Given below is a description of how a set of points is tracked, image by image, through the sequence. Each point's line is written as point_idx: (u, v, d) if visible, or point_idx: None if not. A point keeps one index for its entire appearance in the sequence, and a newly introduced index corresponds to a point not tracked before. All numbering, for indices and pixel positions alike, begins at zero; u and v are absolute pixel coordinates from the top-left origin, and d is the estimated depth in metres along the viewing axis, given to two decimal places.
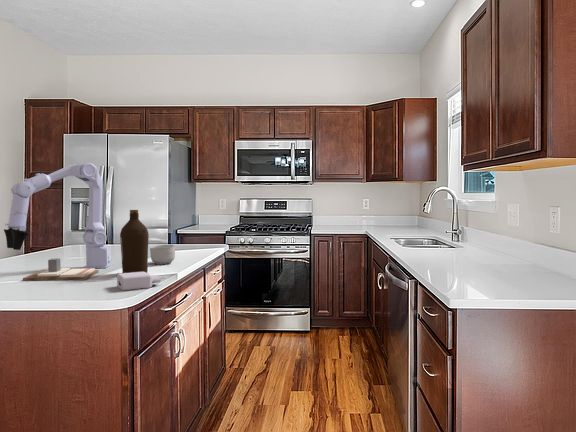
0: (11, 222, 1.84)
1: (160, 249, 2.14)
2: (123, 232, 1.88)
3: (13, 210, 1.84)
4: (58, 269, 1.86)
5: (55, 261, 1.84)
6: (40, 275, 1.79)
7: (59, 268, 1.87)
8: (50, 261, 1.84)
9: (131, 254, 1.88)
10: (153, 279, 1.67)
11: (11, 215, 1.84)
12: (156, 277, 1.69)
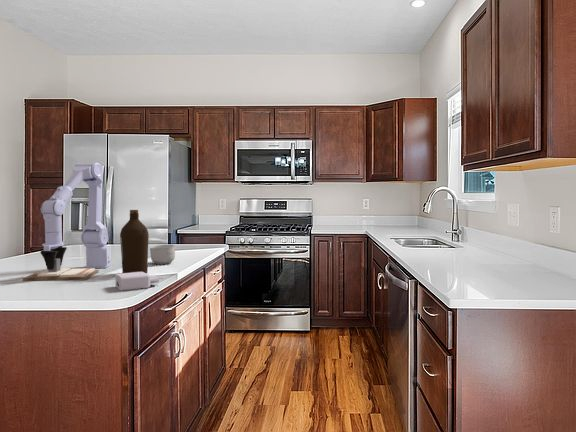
0: (45, 242, 1.84)
1: (160, 249, 2.14)
2: (123, 232, 1.88)
3: (51, 230, 1.83)
4: (58, 269, 1.86)
5: (55, 261, 1.84)
6: (40, 275, 1.79)
7: (59, 268, 1.87)
8: None
9: (131, 254, 1.88)
10: (151, 279, 1.67)
11: (45, 235, 1.84)
12: (154, 277, 1.68)
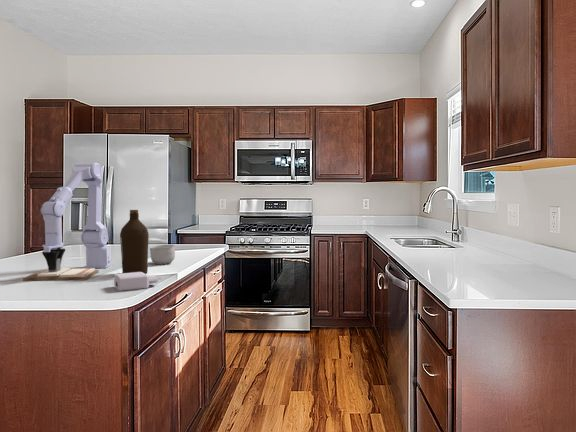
0: (45, 243, 1.84)
1: (160, 249, 2.14)
2: (123, 232, 1.88)
3: (51, 231, 1.83)
4: (58, 269, 1.86)
5: None
6: (40, 275, 1.79)
7: (59, 268, 1.87)
8: None
9: (131, 254, 1.88)
10: (150, 279, 1.67)
11: (45, 236, 1.84)
12: (153, 277, 1.68)
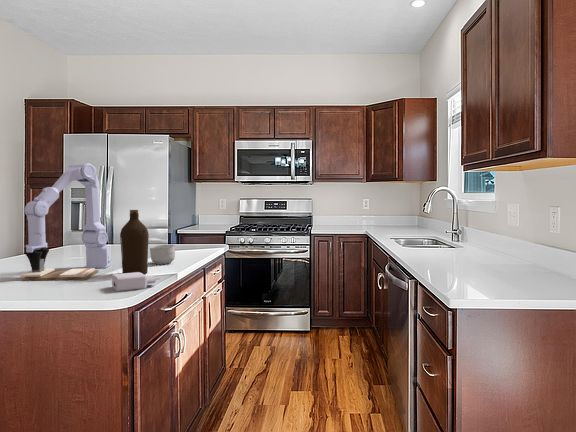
0: None
1: (160, 249, 2.14)
2: (123, 232, 1.88)
3: (33, 231, 1.82)
4: (42, 269, 1.86)
5: None
6: (23, 275, 1.79)
7: (43, 268, 1.87)
8: None
9: (131, 254, 1.88)
10: (148, 280, 1.66)
11: (28, 236, 1.84)
12: (151, 278, 1.68)
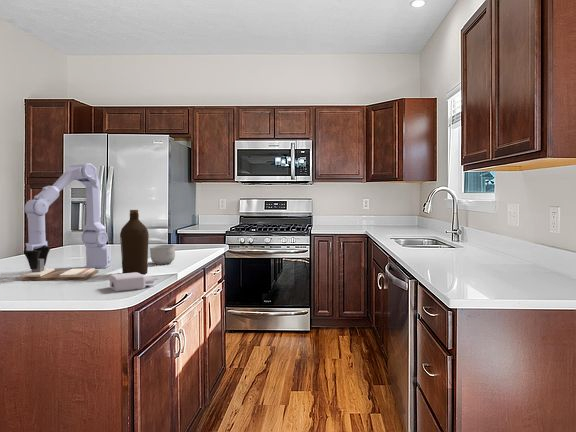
0: None
1: (160, 249, 2.14)
2: (123, 232, 1.88)
3: (33, 230, 1.82)
4: (42, 269, 1.86)
5: (38, 261, 1.84)
6: (23, 275, 1.79)
7: (43, 268, 1.87)
8: None
9: (131, 254, 1.88)
10: (146, 280, 1.66)
11: None
12: (149, 278, 1.67)
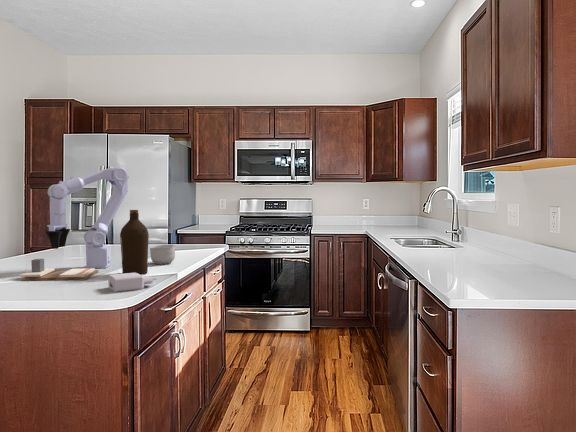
0: (50, 223, 1.97)
1: (160, 249, 2.14)
2: (123, 232, 1.88)
3: (52, 212, 1.96)
4: (42, 269, 1.86)
5: (38, 261, 1.84)
6: (23, 275, 1.79)
7: (43, 268, 1.87)
8: (33, 261, 1.83)
9: (131, 254, 1.88)
10: (145, 280, 1.66)
11: (50, 217, 1.98)
12: (148, 278, 1.67)
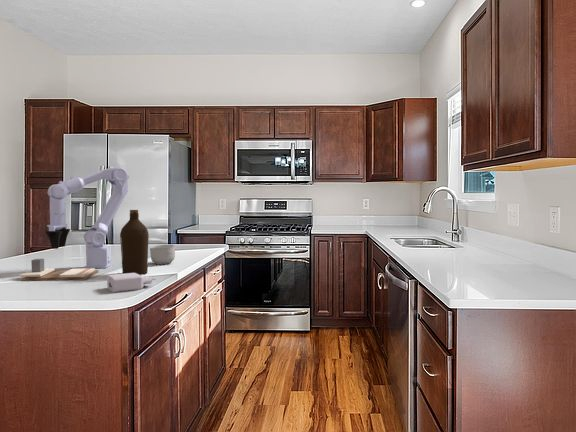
0: (50, 223, 1.97)
1: (160, 249, 2.14)
2: (123, 232, 1.88)
3: (52, 212, 1.96)
4: (42, 269, 1.86)
5: (38, 261, 1.84)
6: (23, 275, 1.79)
7: (43, 268, 1.87)
8: (33, 261, 1.83)
9: (131, 254, 1.88)
10: (144, 280, 1.65)
11: (50, 217, 1.98)
12: (147, 278, 1.66)
